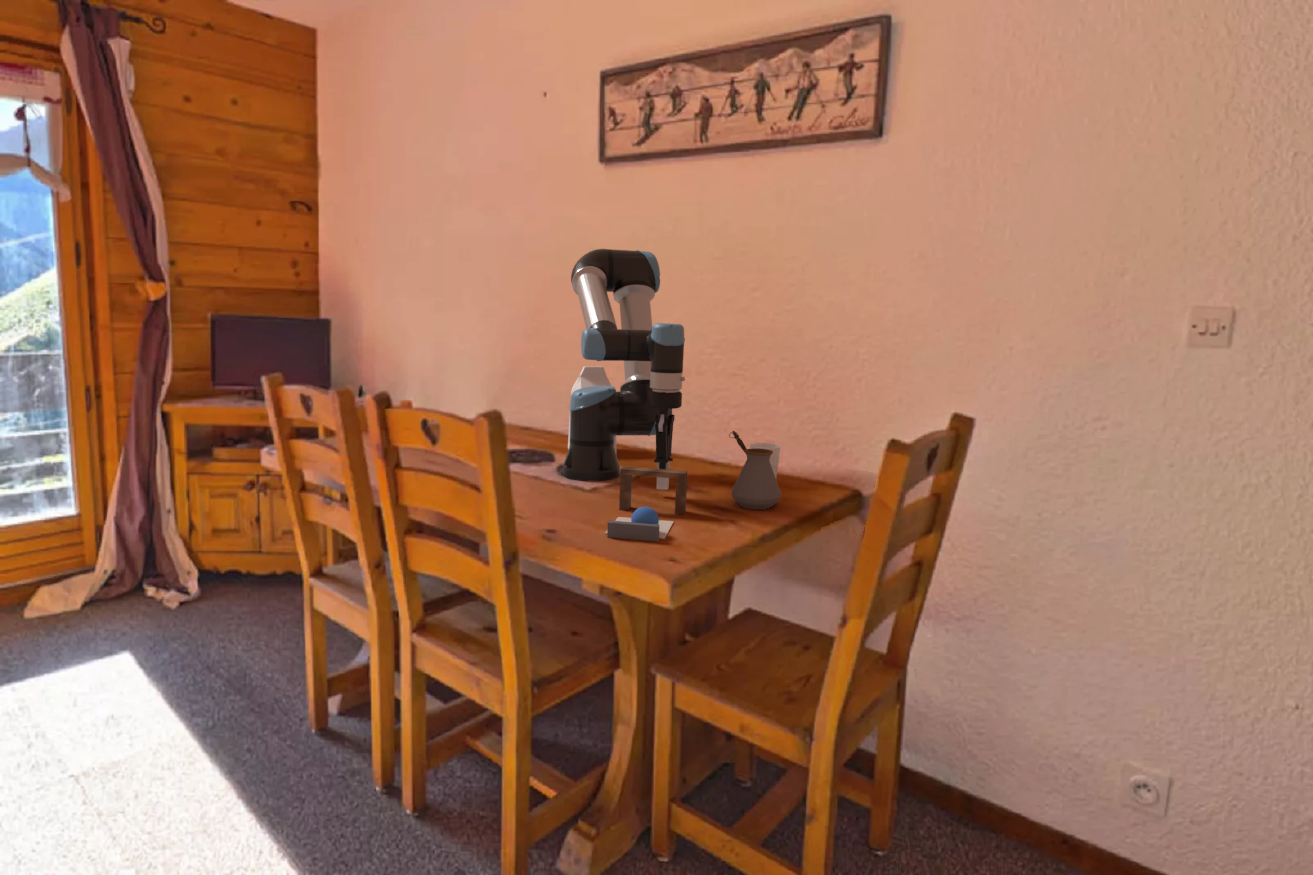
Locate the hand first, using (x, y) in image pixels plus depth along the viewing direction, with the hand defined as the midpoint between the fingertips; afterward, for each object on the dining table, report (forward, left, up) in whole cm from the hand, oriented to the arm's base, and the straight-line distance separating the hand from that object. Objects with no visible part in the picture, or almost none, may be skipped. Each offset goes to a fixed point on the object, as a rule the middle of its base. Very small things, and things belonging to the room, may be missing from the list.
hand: (662, 488), depth 183 cm
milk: (-30, +48, -2) cm, 57 cm away
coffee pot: (+20, +3, -2) cm, 20 cm away
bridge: (0, -13, -2) cm, 13 cm away
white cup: (+23, +22, -2) cm, 32 cm away
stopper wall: (0, -34, -2) cm, 34 cm away
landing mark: (0, -27, -2) cm, 27 cm away
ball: (+2, -31, +1) cm, 31 cm away
